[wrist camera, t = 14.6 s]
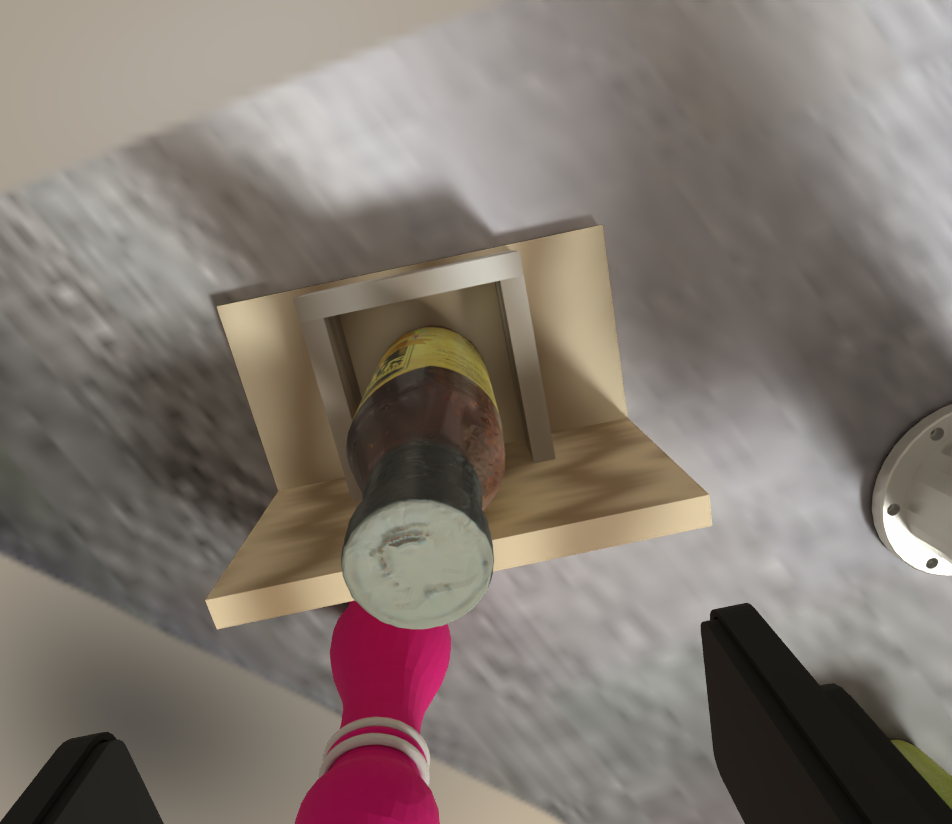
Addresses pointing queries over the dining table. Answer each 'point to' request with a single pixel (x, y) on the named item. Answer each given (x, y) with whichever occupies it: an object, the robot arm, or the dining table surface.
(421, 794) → the pepper mill
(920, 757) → the plant pot
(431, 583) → the sauce bottle
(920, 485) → the robot arm
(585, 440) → the condiment rack
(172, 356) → the dining table surface
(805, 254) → the dining table surface
